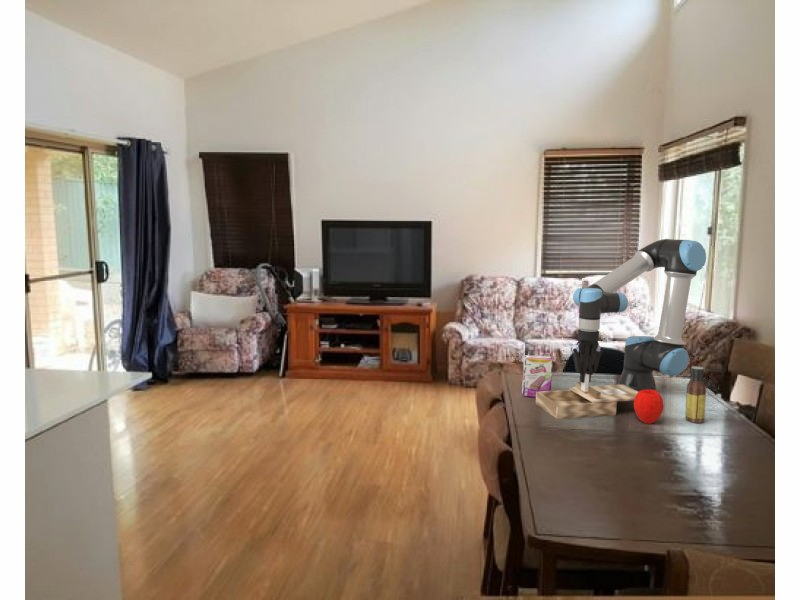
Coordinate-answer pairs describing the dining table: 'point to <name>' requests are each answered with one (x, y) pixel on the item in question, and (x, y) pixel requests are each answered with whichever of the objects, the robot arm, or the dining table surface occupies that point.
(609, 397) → the lid
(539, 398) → the wooden box
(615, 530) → the dining table surface
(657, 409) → the apple
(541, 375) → the candy bar box
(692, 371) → the sauce bottle
